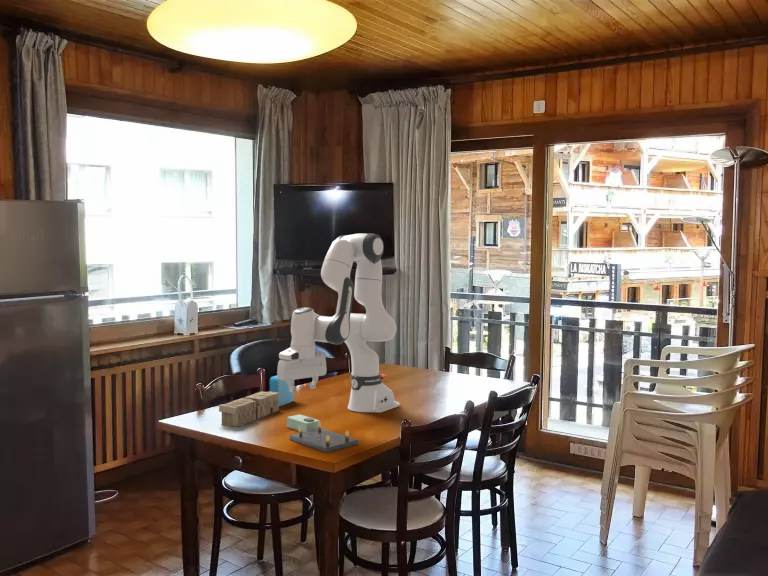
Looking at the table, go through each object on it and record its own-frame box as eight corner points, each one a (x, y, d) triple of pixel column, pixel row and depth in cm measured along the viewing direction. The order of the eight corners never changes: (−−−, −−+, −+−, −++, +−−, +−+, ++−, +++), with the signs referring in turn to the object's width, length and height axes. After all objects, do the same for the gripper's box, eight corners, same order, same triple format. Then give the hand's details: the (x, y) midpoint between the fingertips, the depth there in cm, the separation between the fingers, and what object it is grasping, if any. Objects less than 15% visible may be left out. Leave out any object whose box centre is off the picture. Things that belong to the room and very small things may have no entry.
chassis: (321, 432, 258) (321, 419, 257) (357, 444, 243) (358, 431, 243) (289, 439, 248) (289, 426, 248) (325, 452, 234) (326, 439, 233)
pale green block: (299, 424, 268) (299, 412, 268) (319, 431, 260) (319, 418, 259) (286, 427, 264) (286, 415, 264) (306, 434, 256) (306, 421, 255)
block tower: (263, 411, 292) (217, 426, 265) (263, 390, 291) (218, 403, 265) (279, 413, 288) (235, 428, 262) (279, 392, 288) (235, 405, 262)
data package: (285, 399, 307) (285, 372, 306) (294, 401, 305) (294, 373, 304) (269, 405, 296) (269, 377, 295) (278, 407, 294) (278, 378, 293)
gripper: (319, 349, 269) (319, 385, 270) (274, 354, 255) (274, 392, 256) (330, 351, 265) (330, 387, 265) (285, 356, 251) (285, 395, 251)
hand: (302, 390), depth 261 cm, fingers open, 8 cm apart
